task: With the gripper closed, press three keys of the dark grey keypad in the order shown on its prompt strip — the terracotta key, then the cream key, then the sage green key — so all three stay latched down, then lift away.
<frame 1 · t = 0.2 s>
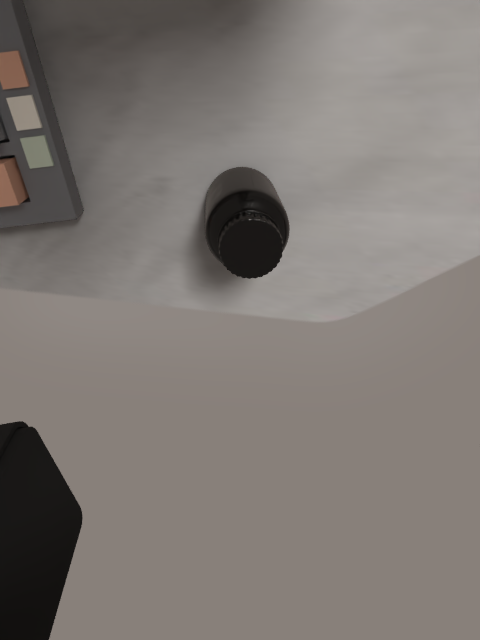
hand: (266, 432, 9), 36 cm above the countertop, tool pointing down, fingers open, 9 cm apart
supplement bottle: (241, 201, 44), on the countertop
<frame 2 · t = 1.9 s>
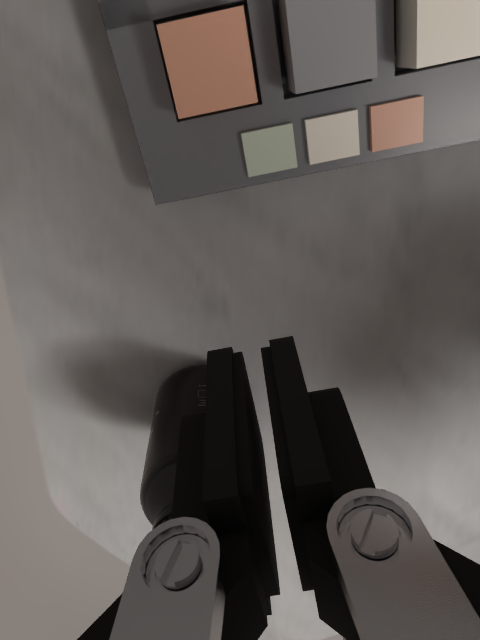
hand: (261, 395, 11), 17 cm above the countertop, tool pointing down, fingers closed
keypad: (310, 3, 21), on the countertop
supplement bottle: (204, 398, 33), on the countertop
key cream: (447, 12, 19), point 3 cm above the countertop, slide at 0.0 cm
key terracotta: (209, 64, 19), point 3 cm above the countertop, slide at 0.0 cm
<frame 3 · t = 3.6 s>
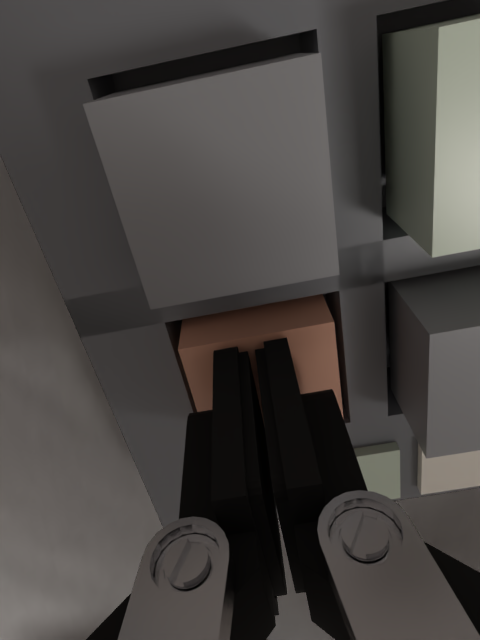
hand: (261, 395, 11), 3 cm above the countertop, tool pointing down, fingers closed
keypad: (430, 245, 12), on the countertop
key terracotta: (263, 364, 12), point 2 cm above the countertop, slide at 1.0 cm, touching gripper
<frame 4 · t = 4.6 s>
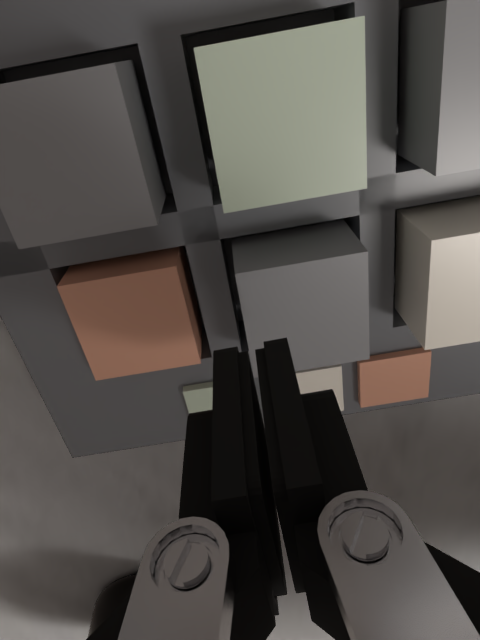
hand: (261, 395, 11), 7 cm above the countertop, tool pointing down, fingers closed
keypad: (279, 216, 15), on the countertop
supplement bottle: (155, 597, 27), on the countertop
key sage: (279, 116, 11), point 3 cm above the countertop, slide at 0.0 cm
key cream: (468, 269, 13), point 3 cm above the countertop, slide at 0.0 cm
key terracotta: (138, 306, 15), point 2 cm above the countertop, slide at 1.1 cm
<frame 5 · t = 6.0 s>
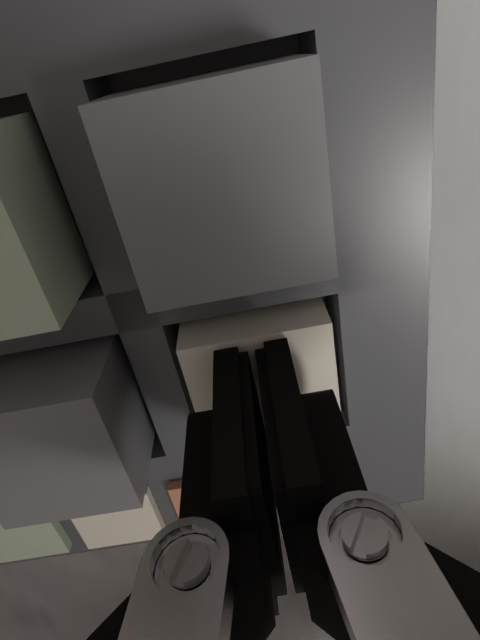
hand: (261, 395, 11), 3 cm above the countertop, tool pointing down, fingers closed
keypad: (73, 314, 13), on the countertop
key cream: (261, 365, 12), point 2 cm above the countertop, slide at 1.1 cm, touching gripper
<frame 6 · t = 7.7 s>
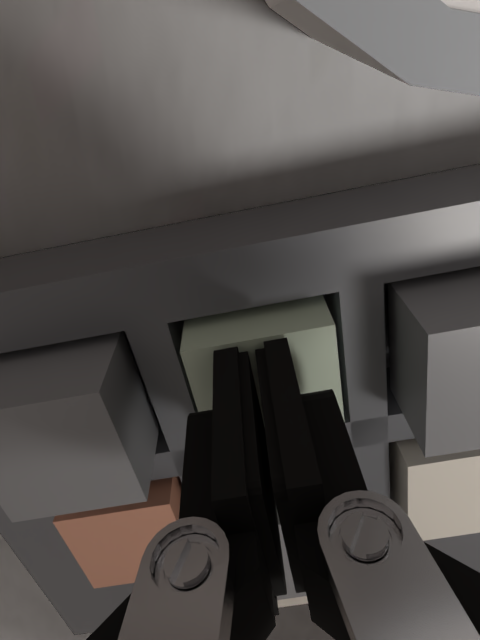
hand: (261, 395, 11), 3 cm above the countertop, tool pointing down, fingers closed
keypad: (275, 412, 15), on the countertop
key sage: (264, 367, 12), point 2 cm above the countertop, slide at 0.9 cm, touching gripper
key cream: (448, 464, 14), point 2 cm above the countertop, slide at 1.1 cm
key terracotta: (135, 513, 15), point 2 cm above the countertop, slide at 1.1 cm
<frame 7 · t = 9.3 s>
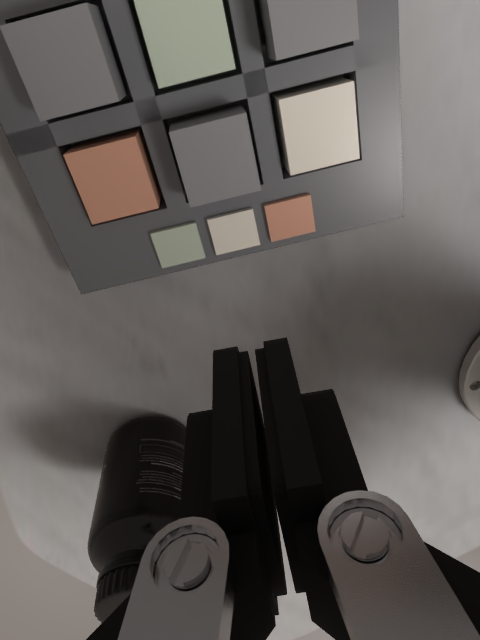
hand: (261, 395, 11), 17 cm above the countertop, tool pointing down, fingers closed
keypad: (205, 112, 23), on the countertop
supplement bottle: (153, 443, 35), on the countertop
key sage: (186, 33, 20), point 2 cm above the countertop, slide at 1.1 cm
key cream: (314, 125, 22), point 2 cm above the countertop, slide at 1.1 cm
key terracotta: (116, 175, 22), point 2 cm above the countertop, slide at 1.1 cm
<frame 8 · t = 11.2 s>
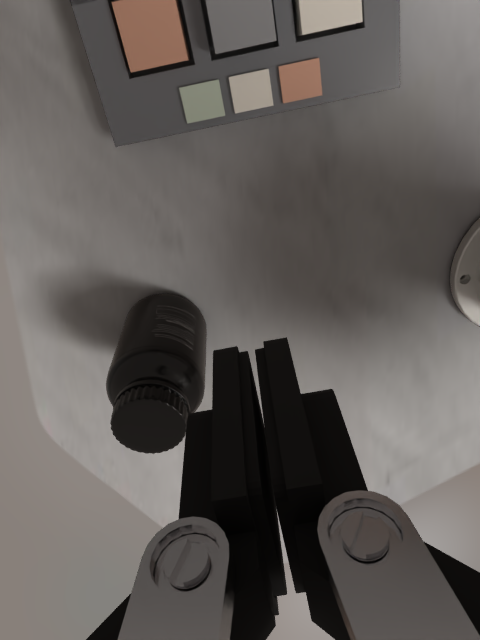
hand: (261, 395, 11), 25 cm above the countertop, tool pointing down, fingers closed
supplement bottle: (167, 325, 39), on the countertop
key terracotta: (153, 32, 26), point 2 cm above the countertop, slide at 1.1 cm
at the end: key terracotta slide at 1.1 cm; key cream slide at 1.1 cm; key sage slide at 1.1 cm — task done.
